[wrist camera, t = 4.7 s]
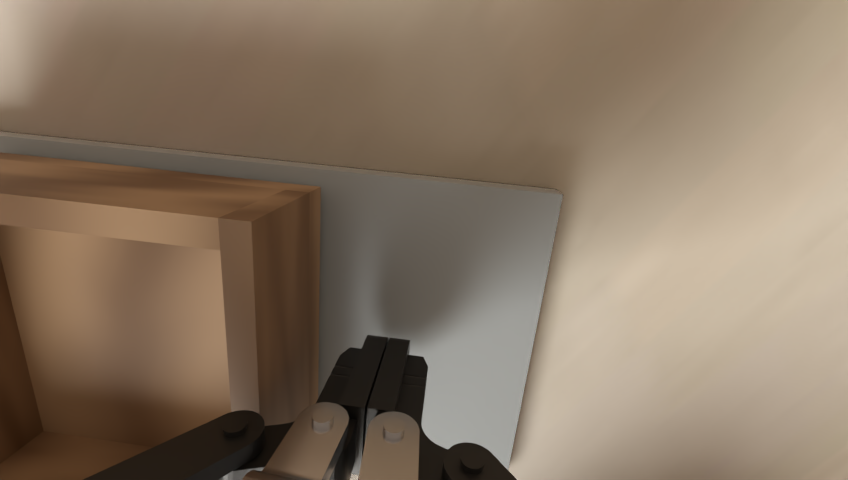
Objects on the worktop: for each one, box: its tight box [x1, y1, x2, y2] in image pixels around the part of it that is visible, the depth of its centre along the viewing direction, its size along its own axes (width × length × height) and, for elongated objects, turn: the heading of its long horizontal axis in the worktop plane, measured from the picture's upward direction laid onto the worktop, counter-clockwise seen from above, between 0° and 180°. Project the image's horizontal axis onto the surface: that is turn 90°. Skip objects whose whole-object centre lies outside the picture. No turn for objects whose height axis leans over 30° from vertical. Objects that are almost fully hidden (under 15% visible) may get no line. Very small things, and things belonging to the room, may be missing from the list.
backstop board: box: [0, 131, 563, 470], centre depth 14 cm, size 21×12×5 cm, turn 85°
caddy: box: [0, 152, 321, 480], centre depth 13 cm, size 12×12×4 cm
